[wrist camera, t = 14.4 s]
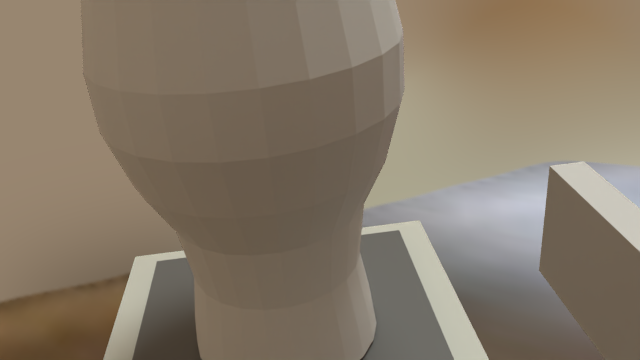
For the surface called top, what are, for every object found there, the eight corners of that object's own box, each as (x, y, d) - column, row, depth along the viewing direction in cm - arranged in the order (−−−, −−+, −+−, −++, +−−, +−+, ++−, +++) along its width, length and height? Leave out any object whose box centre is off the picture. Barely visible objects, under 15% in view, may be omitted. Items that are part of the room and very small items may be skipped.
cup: (404, 253, 30) (395, -67, 23) (418, 429, 20) (410, -25, 14) (200, 259, 31) (134, -44, 24) (125, 427, 22) (-17, 10, 15)
